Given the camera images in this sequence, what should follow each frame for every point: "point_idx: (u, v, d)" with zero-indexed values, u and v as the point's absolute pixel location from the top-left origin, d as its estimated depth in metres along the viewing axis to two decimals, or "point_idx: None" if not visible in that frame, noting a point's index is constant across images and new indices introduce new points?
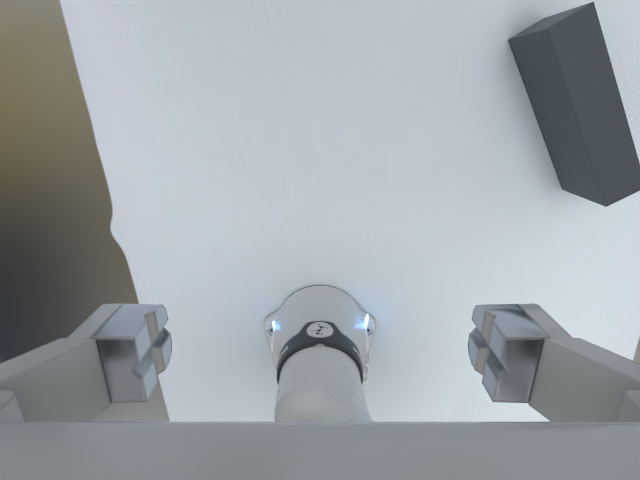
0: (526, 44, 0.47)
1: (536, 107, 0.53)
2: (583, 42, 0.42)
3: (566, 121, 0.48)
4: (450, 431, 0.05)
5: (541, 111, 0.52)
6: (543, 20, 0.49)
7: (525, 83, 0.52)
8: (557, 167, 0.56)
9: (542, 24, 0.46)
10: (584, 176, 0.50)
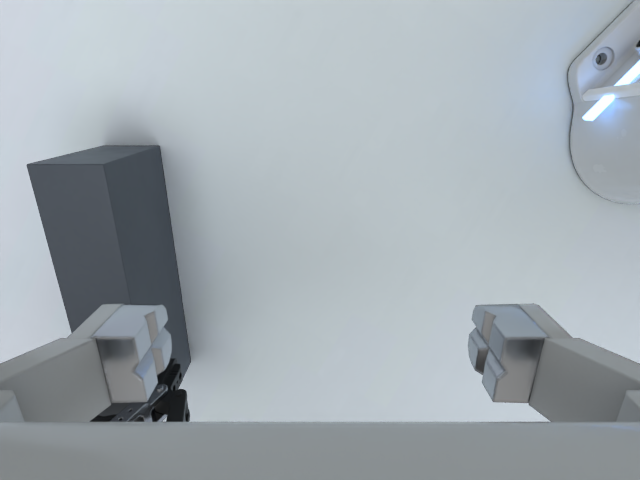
0: None
1: (175, 287, 0.38)
2: (114, 403, 0.32)
3: None
4: (450, 431, 0.05)
5: (171, 286, 0.37)
6: None
7: (182, 315, 0.40)
8: (162, 192, 0.35)
9: None
10: (130, 211, 0.29)
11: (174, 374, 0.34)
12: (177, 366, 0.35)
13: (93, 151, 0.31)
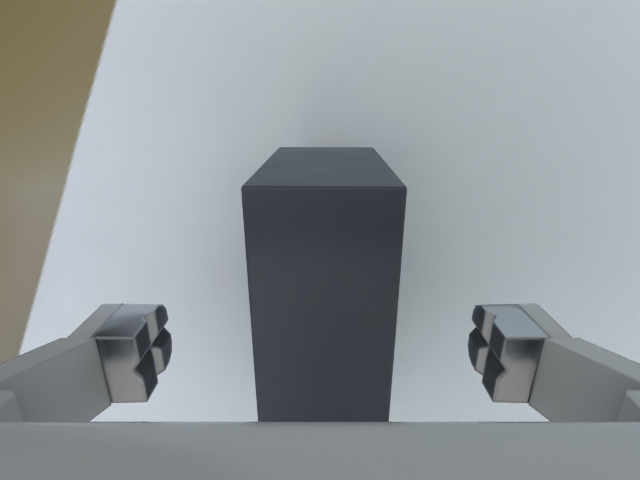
0: None
1: None
2: None
3: None
4: (450, 431, 0.05)
5: None
6: None
7: None
8: None
9: None
10: None
11: None
12: None
13: (296, 157, 0.17)
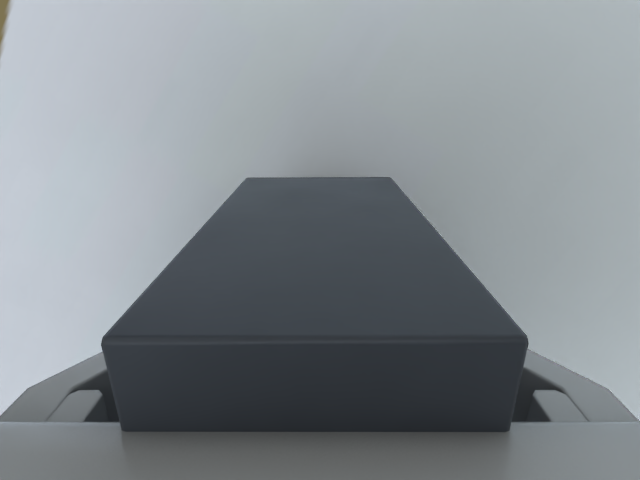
0: None
1: None
2: None
3: None
4: None
5: None
6: None
7: None
8: None
9: None
10: None
11: None
12: None
13: (267, 205, 0.10)
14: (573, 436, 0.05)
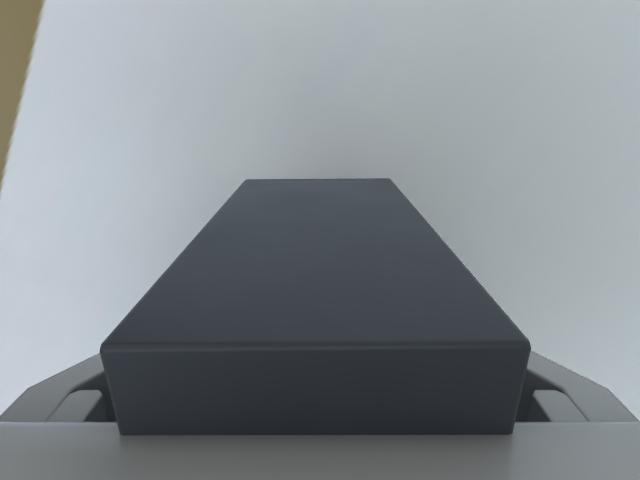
0: None
1: None
2: None
3: None
4: None
5: None
6: None
7: None
8: None
9: None
10: None
11: None
12: None
13: (266, 207, 0.10)
14: (573, 436, 0.05)
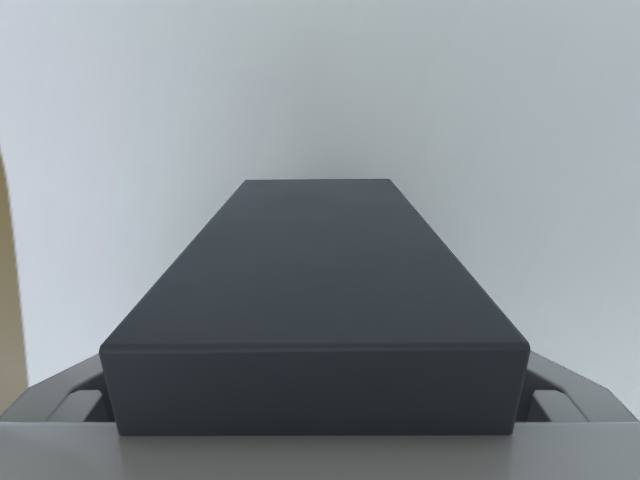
0: None
1: None
2: None
3: None
4: None
5: None
6: None
7: None
8: None
9: None
10: None
11: None
12: None
13: (266, 208, 0.10)
14: (573, 436, 0.05)
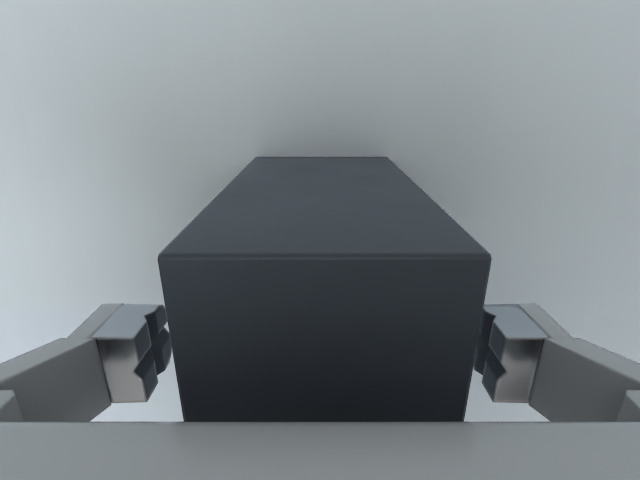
0: None
1: None
2: None
3: None
4: (450, 431, 0.05)
5: None
6: None
7: None
8: None
9: None
10: None
11: None
12: None
13: (277, 176, 0.11)
14: (573, 436, 0.05)
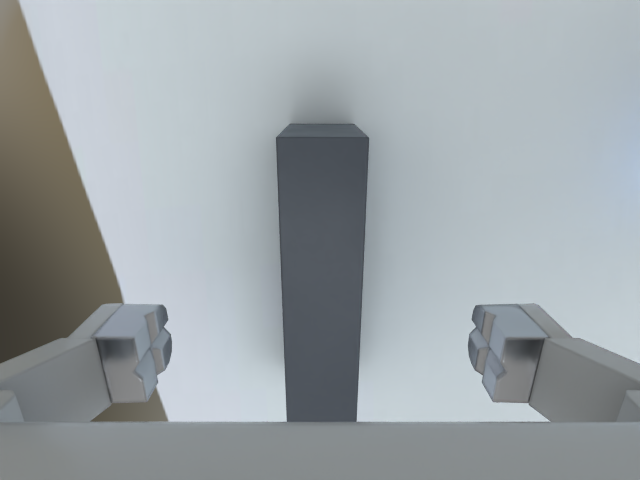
0: None
1: None
2: (315, 420, 0.28)
3: None
4: (450, 431, 0.05)
5: None
6: None
7: None
8: None
9: None
10: None
11: None
12: None
13: (303, 127, 0.26)
14: (573, 436, 0.05)
